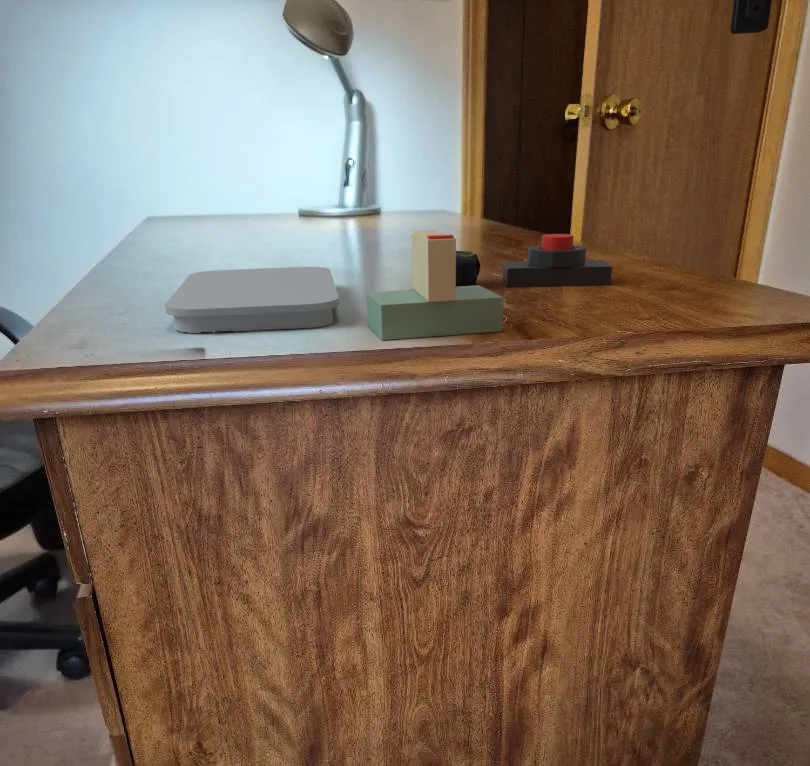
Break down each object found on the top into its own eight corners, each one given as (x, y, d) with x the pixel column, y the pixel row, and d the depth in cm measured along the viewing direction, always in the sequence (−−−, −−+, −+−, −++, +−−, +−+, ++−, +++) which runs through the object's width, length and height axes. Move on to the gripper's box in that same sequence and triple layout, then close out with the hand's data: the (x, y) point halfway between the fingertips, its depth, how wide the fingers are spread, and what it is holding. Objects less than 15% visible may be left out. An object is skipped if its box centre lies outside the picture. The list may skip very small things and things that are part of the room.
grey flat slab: (163, 336, 72) (159, 310, 71) (195, 290, 95) (192, 271, 94) (341, 327, 74) (340, 302, 73) (330, 285, 97) (329, 265, 96)
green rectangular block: (478, 317, 77) (479, 285, 75) (502, 331, 70) (503, 297, 69) (367, 324, 74) (365, 292, 73) (382, 340, 68) (380, 304, 67)
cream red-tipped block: (412, 287, 74) (411, 228, 72) (436, 286, 75) (436, 227, 72) (428, 302, 67) (427, 236, 65) (455, 300, 68) (456, 235, 65)
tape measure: (417, 291, 91) (416, 257, 90) (427, 282, 97) (427, 249, 96) (475, 292, 90) (476, 257, 88) (482, 282, 96) (483, 250, 94)
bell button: (569, 249, 94) (571, 233, 94) (574, 252, 91) (575, 236, 90) (539, 249, 94) (540, 234, 94) (543, 253, 91) (544, 237, 90)
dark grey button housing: (600, 278, 97) (603, 243, 95) (611, 286, 91) (614, 249, 89) (502, 279, 98) (503, 245, 96) (506, 288, 92) (508, 252, 90)
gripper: (710, -174, 78) (688, 43, 86) (768, -243, 65) (736, 22, 73) (787, -179, 78) (758, 40, 86) (862, -249, 64) (819, 18, 72)
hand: (748, 31), depth 79 cm, fingers closed
